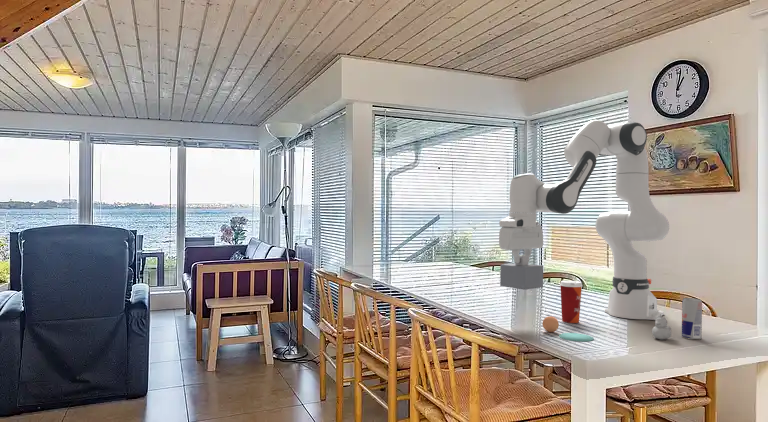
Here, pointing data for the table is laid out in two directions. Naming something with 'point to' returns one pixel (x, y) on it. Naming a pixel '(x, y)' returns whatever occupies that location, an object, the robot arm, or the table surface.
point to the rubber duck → (661, 329)
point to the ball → (550, 324)
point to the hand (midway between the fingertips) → (521, 262)
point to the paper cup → (570, 301)
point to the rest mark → (576, 337)
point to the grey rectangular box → (521, 275)
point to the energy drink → (692, 318)
